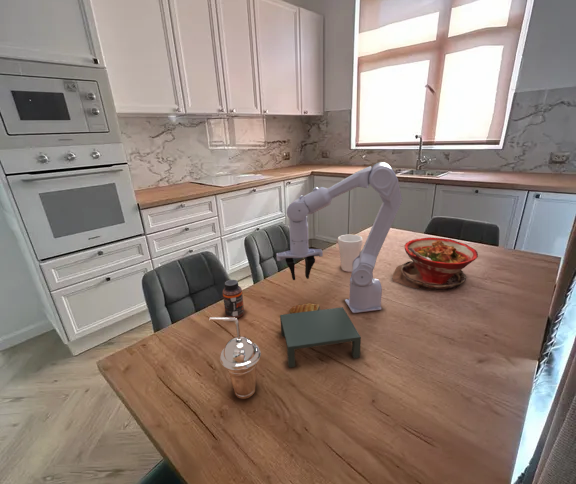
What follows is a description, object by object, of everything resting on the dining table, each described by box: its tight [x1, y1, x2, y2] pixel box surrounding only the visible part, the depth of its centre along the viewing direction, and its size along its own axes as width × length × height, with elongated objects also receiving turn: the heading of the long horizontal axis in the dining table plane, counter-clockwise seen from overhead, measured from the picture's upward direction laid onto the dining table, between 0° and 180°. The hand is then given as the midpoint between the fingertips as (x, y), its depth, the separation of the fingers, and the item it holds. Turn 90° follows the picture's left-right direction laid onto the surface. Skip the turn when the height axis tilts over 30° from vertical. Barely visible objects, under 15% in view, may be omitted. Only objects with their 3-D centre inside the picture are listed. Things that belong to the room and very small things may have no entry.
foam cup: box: [337, 233, 364, 273], centre depth 124 cm, size 10×9×13 cm
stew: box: [392, 237, 479, 292], centre depth 111 cm, size 28×24×16 cm
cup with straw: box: [208, 316, 262, 400], centre depth 66 cm, size 8×9×20 cm
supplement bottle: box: [222, 279, 245, 319], centre depth 96 cm, size 6×6×11 cm
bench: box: [279, 306, 362, 369], centre depth 82 cm, size 18×14×6 cm
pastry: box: [289, 302, 321, 314], centre depth 96 cm, size 9×7×4 cm
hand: (300, 278), depth 101 cm, fingers open, 4 cm apart
